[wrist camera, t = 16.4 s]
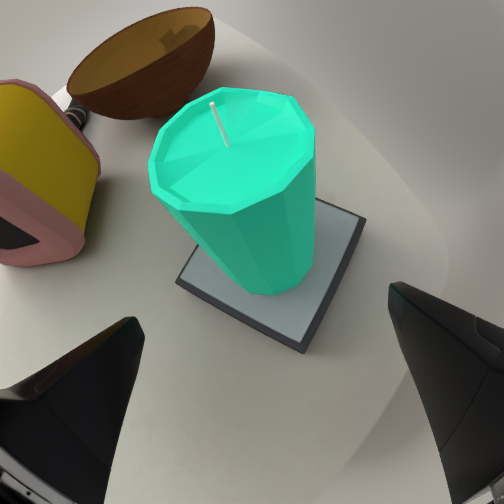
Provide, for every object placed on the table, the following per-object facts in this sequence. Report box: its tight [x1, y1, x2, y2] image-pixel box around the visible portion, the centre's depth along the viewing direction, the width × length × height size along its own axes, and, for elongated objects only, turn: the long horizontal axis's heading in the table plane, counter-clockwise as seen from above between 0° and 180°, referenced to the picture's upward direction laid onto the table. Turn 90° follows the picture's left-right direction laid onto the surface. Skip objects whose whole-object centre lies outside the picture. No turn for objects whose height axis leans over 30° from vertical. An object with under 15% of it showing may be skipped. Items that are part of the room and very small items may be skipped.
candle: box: [147, 87, 316, 296], centre depth 13 cm, size 6×6×12 cm
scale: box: [175, 198, 366, 354], centre depth 20 cm, size 10×10×3 cm
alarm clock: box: [0, 79, 101, 267], centre depth 19 cm, size 18×11×19 cm, turn 93°
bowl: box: [66, 7, 215, 120], centre depth 27 cm, size 18×18×10 cm
